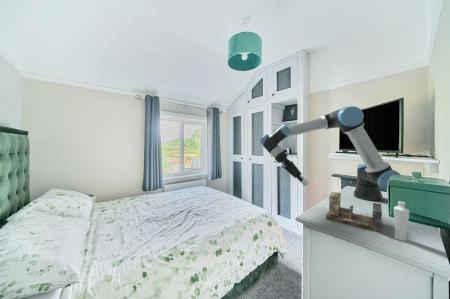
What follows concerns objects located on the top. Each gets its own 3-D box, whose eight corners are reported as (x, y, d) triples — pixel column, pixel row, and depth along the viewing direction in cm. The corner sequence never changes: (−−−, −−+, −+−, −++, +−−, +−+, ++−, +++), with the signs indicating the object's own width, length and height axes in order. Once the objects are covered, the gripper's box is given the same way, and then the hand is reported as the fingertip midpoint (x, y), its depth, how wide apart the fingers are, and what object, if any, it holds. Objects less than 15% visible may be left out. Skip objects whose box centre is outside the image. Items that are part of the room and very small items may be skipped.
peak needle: (348, 219, 82) (348, 210, 81) (350, 213, 88) (350, 205, 88) (351, 220, 81) (351, 211, 81) (352, 214, 88) (353, 205, 87)
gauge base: (325, 218, 88) (326, 201, 87) (330, 211, 97) (330, 195, 96) (381, 232, 74) (381, 212, 73) (380, 222, 83) (381, 204, 82)
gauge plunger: (329, 214, 89) (329, 195, 88) (331, 209, 94) (331, 191, 94) (347, 218, 84) (348, 198, 83) (349, 213, 89) (350, 194, 88)
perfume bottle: (399, 234, 72) (400, 199, 71) (410, 240, 68) (412, 203, 67) (388, 235, 72) (390, 200, 71) (399, 241, 68) (401, 204, 67)
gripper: (279, 157, 115) (305, 186, 105) (270, 159, 105) (298, 191, 95) (287, 150, 111) (314, 179, 101) (278, 151, 102) (308, 183, 92)
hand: (306, 185), depth 98 cm, fingers closed
